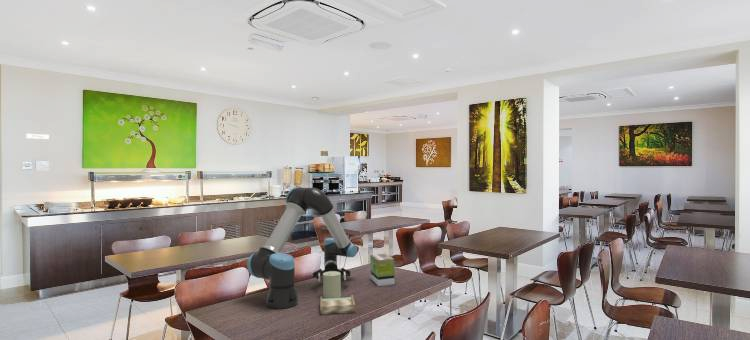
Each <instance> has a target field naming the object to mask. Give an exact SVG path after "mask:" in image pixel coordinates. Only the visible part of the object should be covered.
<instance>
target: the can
mask: <svg viewBox="0 0 750 340" xmlns="http://www.w3.org/2000/svg"><path fill="white" fill-rule="evenodd" d="M341 276H342V275H341V273H340V272H337V271H329V272H325V273H323V276H322V289H323V290H322V293H323V294H322V298H323V299H328V298H342V291H341V290H342V289H341V287H342V286H341V283H342V281H341V279H342V277H341Z"/></svg>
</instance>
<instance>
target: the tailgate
mask: <svg viewBox="0 0 750 340" xmlns="http://www.w3.org/2000/svg"><path fill="white" fill-rule="evenodd" d="M350 299H351V296H348V297H339V298H328V299H327V298H322V301H332V300H350Z"/></svg>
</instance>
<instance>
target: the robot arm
mask: <svg viewBox="0 0 750 340" xmlns="http://www.w3.org/2000/svg"><path fill="white" fill-rule="evenodd" d="M285 207H286V209H285V210H284V212H283V213H282V215H281V217H280V219H279V221H278V222H277V224H276V226H275V227H274V229H273V231H272V233H271V235H270V236H269V237H268V239H267V241H266V243H265V245H263V246H261V247H260V248H259V249H258V251H257V252H254V253H251V254H250V255H249V257H248V259H247V263H246V267H247V272H248V274H249V275H250V276H253V277H255V278H257V279H264V280H267V281H269V290H268V294H267V297H266V301H265V302H266V303H265V304H266V305H267V306H268V308H269V307H270V308H269V309H274V308H275V310H276V309H279V310H281V309H288V308H292V307H294V306H297V305H298V304H299V296H298V293H297V290H296V286H295V270H296V269H295V265H296V264H295V257H294V256H292V255H291V254H288V253H284V252H283V253H282V251H283V248H284V246H285V245H286V244H287V242H288V239H289V237H290V236H291V234H292V233H293V231H294V228H295V227H296V225H297V223H298V222H299V220H300V218H301V216H302V217H303V216H305V214H306V212H307V211H308V210H313V211H315V212H316V214H317V216H320V217H321V219H322V221H323V223H324V225H325V226H326V228H327V230H328V232H329V234H330V236H331V237H327V238H325V239H324V243H323V253H324V254H323V256H324V257H323V259H324V260H323V262H324V263H323V265H324V268H323V269H322V268H319V269H318V270H316V271H314V272H313V273H312V278H314V279H315V278H316V280H318V282H321V277H323V273H325V272H329V271H337V272H340V273H341V276H342V277H343V279H344V281H346V280H347V278H348V277H351V270H348V269H345V268H344V267H341V268H340V269H339V268H338V256H341V257H345V258H354V257H356V255H357V254H358V246H357V245H356V244H354V243H351V242H350V240H349V238H348V235H347V234H346V232H345V229H344V228H343V226H342V224H341V223H340V221H339V219H338V216H337V214H336V213H335V210H334V205H333V203H332V202H331V200H330V198H329V197H328V196H327V195H326V193H325V192H323V191H322V190H321V189H319V188H316V187H302V186H301V187H300V186H298V187H294V188H291V189H290V190H289V191H288V192H287V193H286V195H285ZM267 306H266V307H267Z"/></svg>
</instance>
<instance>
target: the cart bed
mask: <svg viewBox="0 0 750 340" xmlns="http://www.w3.org/2000/svg"><path fill="white" fill-rule="evenodd" d="M350 297H351V299H350V300H332V301H322V299H323V295H322V296H320V301H319V302H320V303H319V304H320V306H319V307H320V309H319V310H320V311H319V312H320V314H322V315H335V314H337V315H338V314H340V315H341V314H351V313H352V314H355V313H356V303H355V299H354V295H353V294H351V295H350Z"/></svg>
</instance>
